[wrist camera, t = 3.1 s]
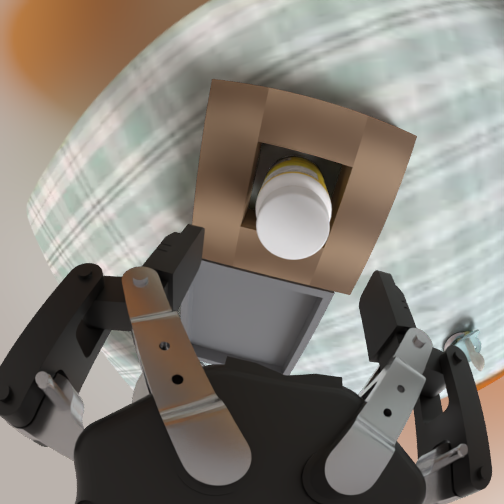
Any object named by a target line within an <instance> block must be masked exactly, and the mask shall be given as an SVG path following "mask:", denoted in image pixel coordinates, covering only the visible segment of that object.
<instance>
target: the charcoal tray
mask: <svg viewBox="0 0 504 504" xmlns="http://www.w3.org/2000/svg"><path fill="white" fill-rule="evenodd" d="M333 295H334V291H331V290H327V289H322V288H318V287H314V286H310V285H306V284H302V283H298V282H294V281H289V280H285V279H281V278H277V277H273V276H269V275H265V274H261V273H257V272H253V271H249V270H245V269H242V268H238V267H234V266H230V265H226V264H222V263H218V262H214V261H211V260H207V259H203V258H202V260H201V264H200V267H199V270H198V272H197V274H196V276H195V278H194V280H193V281H192V283H191V285H190V287H189V289H188V291H187V293H186V295H185V297H184V299H183V301H182V303H181V322H182V324H183V326H184V329H185V331H186V333H187V335H188V338H189V340H190V342H191V344H192V347H193V349H194V351H195V353H196V355H197V357H198V359H199V361H203V362H206V363H210V364H225V361H226V358H227V356H229V357H233V358H237V359H241V360H246V361H250V362H255V363H258V364H260V365H262V366H265V367H267V368H269V369H272V370H274V371H276V372H279V373H281V374H283V375H290V373H291V371H292V370H293V368H294V366H295V365H296V363H297V361H298V360H299V358H300V356H301V355H302V353H303V351H304V349H305V348H306V346H307V344H308V342H309V341H310V339H311V337H312V335H313V333H314V332H315V330H316V328H317V326H318V324H319V322H320V320H321V319H322V317H323V315H324V313H325V311H326V309H327V307H328V305H329V303H330V301H331V299H332V297H333Z"/></svg>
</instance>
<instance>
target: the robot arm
mask: <svg viewBox="0 0 504 504" xmlns="http://www.w3.org/2000/svg"><path fill="white" fill-rule="evenodd" d="M204 234H205V228H203V227H199V226H195V225H190V224H188V225H187V226H186V227H185V229H184V230H183V231H182V232H181V233H177V232H174V233H172V234H170V235H168V236H166V237H165V238H164V240H163V241H162V242H161V244H159V246H158V247H157V249H155V251H154V252H153V253H152V254H151V256H150V257H149V258H148V259H147V261H146V262H145V263H144V264H143V266H142V267H134V268H131V269H129V270H127V271H126V272H125V273H124V274H123V276H122V277H115V276H103V273H102V269H101V268H100V267H99V266H98V265H96V264H92V263H85V264H81V265H78V266H76V267H75V268H74V269H72V270H71V272H70V273H69V274H68V275H67V276H66V277H65V279H64V280H63V281H62V282H61V283H60V284H59V286H58V287H57V288H56V289H55V291H54V292H53V293H52V294H51V295H50V296H49V298H48V299H47V300H46V302H45V303H44V304H43V305H42V307H41V308H40V309H39V310H38V312H37V313H36V314H35V316H34V317H33V318H32V320H31V321H30V322H29V324H28V325H27V327H26V328H25V329H24V331H23V332H22V334H21V335H20V337H19V338H18V339H17V341H16V342H15V344H14V346H13V347H12V348H11V350H10V351H9V353H8V355H7V356H6V358H5V359H4V361H3V363H2V364H1V366H0V416H1V417H2V418H4V419H5V420H6V421H7V423H8V424H9V425H11V426H12V427H13V428H15V429H16V430H17V431H18V432H20V433H21V434H23V435H24V436H25V437H27V438H29V439H31V440H33V441H34V442H36V443H38V444H39V445H41V446H44V447H50V448H52V449H53V450H55V451H57V452H58V453H60V454H61V455H63V456H65V457H67V458H69V459H71V460H72V461H74V465H75V470H76V478H77V497H76V502H75V504H447V503H450V502H453V501H455V500H458V499H461V498H463V497H466V496H468V495H471V494H473V493H475V492H478V491H480V490H482V489H484V488H486V486H487V485H488V484H489V482H490V480H491V476H492V465H491V457H490V450H489V442H488V436H487V431H486V425H485V421H484V416H483V412H482V407H481V404H480V399H479V396H478V392H477V388H476V385H475V381H474V378H473V375H472V372H471V369H470V366H469V363H468V360H467V357H466V355H465V353H464V352H463V351H462V350H461V349H460V348H459V347H457V346H455V345H450V346H448V347H447V348H446V349H445V351H444V352H442V351H440V350H438V349H436V348H433V345H432V341H431V339H430V337H429V336H428V335H427V334H426V333H425V332H424V331H422V330H420V329H418V328H416V325H415V323H414V320H413V317H412V315H411V312H410V309H409V307H408V304H407V303H406V299H405V297H404V294H403V293H402V292H401V290H400V289H399V288H398V287H397V286H396V285H395V283H394V280H393V278H392V276H391V274H389V273H385V272H381V271H377V270H376V271H374V273H373V274H372V276H371V278H370V280H369V282H368V284H367V286H366V288H365V289H364V291H363V293H362V295H361V298H360V301H359V309H360V314H361V318H362V323H363V328H364V334H365V339H366V344H367V350H368V356H369V362H378V363H379V365H380V366H379V367H378V368H377V369H376V370H375V372H374V373H373V375H372V376H371V377H370V379H369V380H368V382H367V383H366V385H365V386H364V387H363V389H362V390H361V391H360V393H359V394H358V395H357V394H356V393H355V392H353V391H352V390H350V389H348V388H346V387H344V386H342V377H335V376H328V375H321V374H306V375H283V374H281V373H279V372H276V371H274V370H272V369H269V368H267V367H265V366H262V365H260V364H258V363H255V362H250V361H246V360H241V359H237V358H233V357H229V356H227V358H226V361H225V364H213V365H207V366H201V364H200V361H199V359H198V357H197V355H196V353H195V351H194V349H193V347H192V344H191V342H190V340H189V338H188V335H187V333H186V331H185V329H184V326H183V324H182V322H181V319H180V317H179V315H178V313H177V311H178V309H179V307H180V305H181V303H182V301H183V299H184V297H185V295H186V293H187V291H188V289H189V287H190V285H191V283H192V281H193V280H194V278H195V276H196V274H197V272H198V270H199V267H200V264H201V260H202V253H203V244H204ZM111 330H121V331H131V334H132V338H133V342H134V345H135V349H136V353H137V356H138V360H139V363H140V366H141V370H142V373H143V377H144V380H145V383H146V386H147V389H148V392H149V394H148V395H146V396H145V397H143V398H141V399H139V400H137V401H135V402H133V403H132V404H129V405H128V406H126V407H124V408H122V409H120V410H118V411H116V412H114V413H112V414H110V415H108V416H106V417H104V418H102V419H99V420H97V421H95V422H93V423H92V424H90V425H89V426H87V427H86V428H85V429H84V428H83V424H82V417H83V413H84V404H83V401H82V399H81V397H80V396H79V391H80V389H81V387H82V385H83V383H84V381H85V379H86V377H87V375H88V373H89V371H90V369H91V367H92V365H93V363H94V361H95V359H96V357H97V355H98V354H99V352H100V350H101V348H102V346H103V344H104V342H105V340H106V339H107V337H108V335H109V333H110V331H111ZM445 388H446V389H447V393H448V398H449V405H448V407H447V409H446V410H445V411H444V412H443V411H442V406H441V400H440V395H439V393H440V392H441V391H442V390H444V389H445ZM413 408H414V416H415V425H416V435H417V449H418V461H417V463H416V464H415V463H414V462H413V461H412V459H411V458H410V457H409V456H408V454H407V453H406V452H405V451H404V449H403V448H402V447H401V446H400V444H399V443H398V442H397V439H398V437H399V435H400V434H401V432H402V430H403V428H404V426H405V424H406V422H407V420H408V418H409V416H410V414H411V412H412V410H413Z"/></svg>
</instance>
